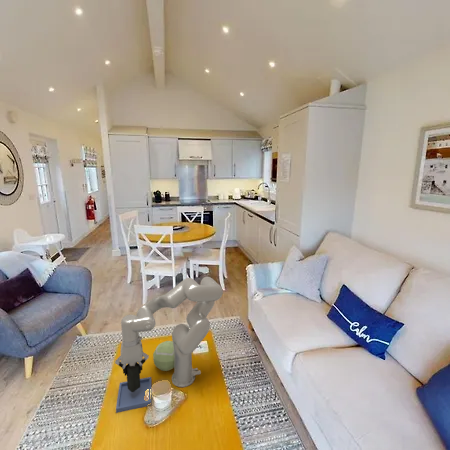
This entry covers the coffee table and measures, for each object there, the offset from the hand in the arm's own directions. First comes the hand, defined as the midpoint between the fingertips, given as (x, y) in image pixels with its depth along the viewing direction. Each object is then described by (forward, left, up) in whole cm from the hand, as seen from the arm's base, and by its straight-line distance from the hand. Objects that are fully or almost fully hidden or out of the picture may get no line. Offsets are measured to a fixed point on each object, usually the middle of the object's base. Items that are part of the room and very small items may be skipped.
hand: (133, 372), depth 131 cm
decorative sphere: (-17, -16, -14) cm, 27 cm away
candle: (0, 0, -9) cm, 9 cm away
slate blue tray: (0, 0, -14) cm, 14 cm away
